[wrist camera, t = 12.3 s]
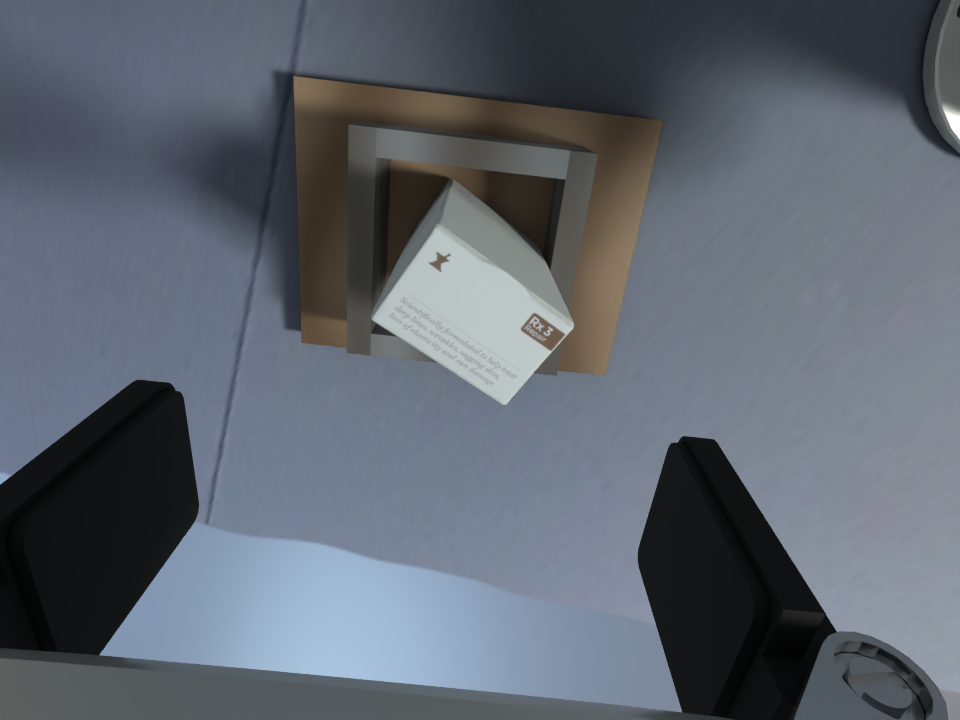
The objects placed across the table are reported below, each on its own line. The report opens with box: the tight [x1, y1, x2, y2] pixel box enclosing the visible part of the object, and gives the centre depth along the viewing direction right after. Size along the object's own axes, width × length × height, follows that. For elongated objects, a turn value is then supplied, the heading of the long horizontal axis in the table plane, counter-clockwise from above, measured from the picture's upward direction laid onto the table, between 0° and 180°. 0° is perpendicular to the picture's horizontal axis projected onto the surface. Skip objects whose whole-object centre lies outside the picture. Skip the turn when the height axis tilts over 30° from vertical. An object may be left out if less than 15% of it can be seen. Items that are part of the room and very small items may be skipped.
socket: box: [293, 76, 663, 376], centre depth 29 cm, size 18×14×6 cm
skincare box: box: [371, 179, 574, 405], centre depth 24 cm, size 6×4×12 cm
